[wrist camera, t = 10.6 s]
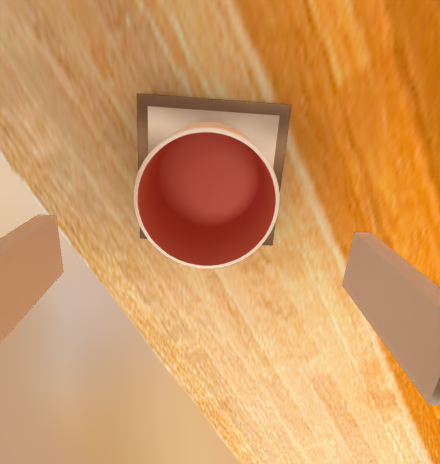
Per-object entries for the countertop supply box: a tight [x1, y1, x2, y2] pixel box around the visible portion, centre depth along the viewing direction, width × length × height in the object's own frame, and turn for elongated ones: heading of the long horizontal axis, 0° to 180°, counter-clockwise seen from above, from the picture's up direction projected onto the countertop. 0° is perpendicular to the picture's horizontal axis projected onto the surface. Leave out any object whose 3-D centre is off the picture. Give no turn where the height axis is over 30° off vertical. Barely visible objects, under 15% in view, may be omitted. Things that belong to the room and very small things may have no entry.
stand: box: [137, 93, 291, 245], centre depth 33 cm, size 14×14×3 cm
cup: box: [134, 122, 280, 268], centre depth 27 cm, size 10×10×10 cm
